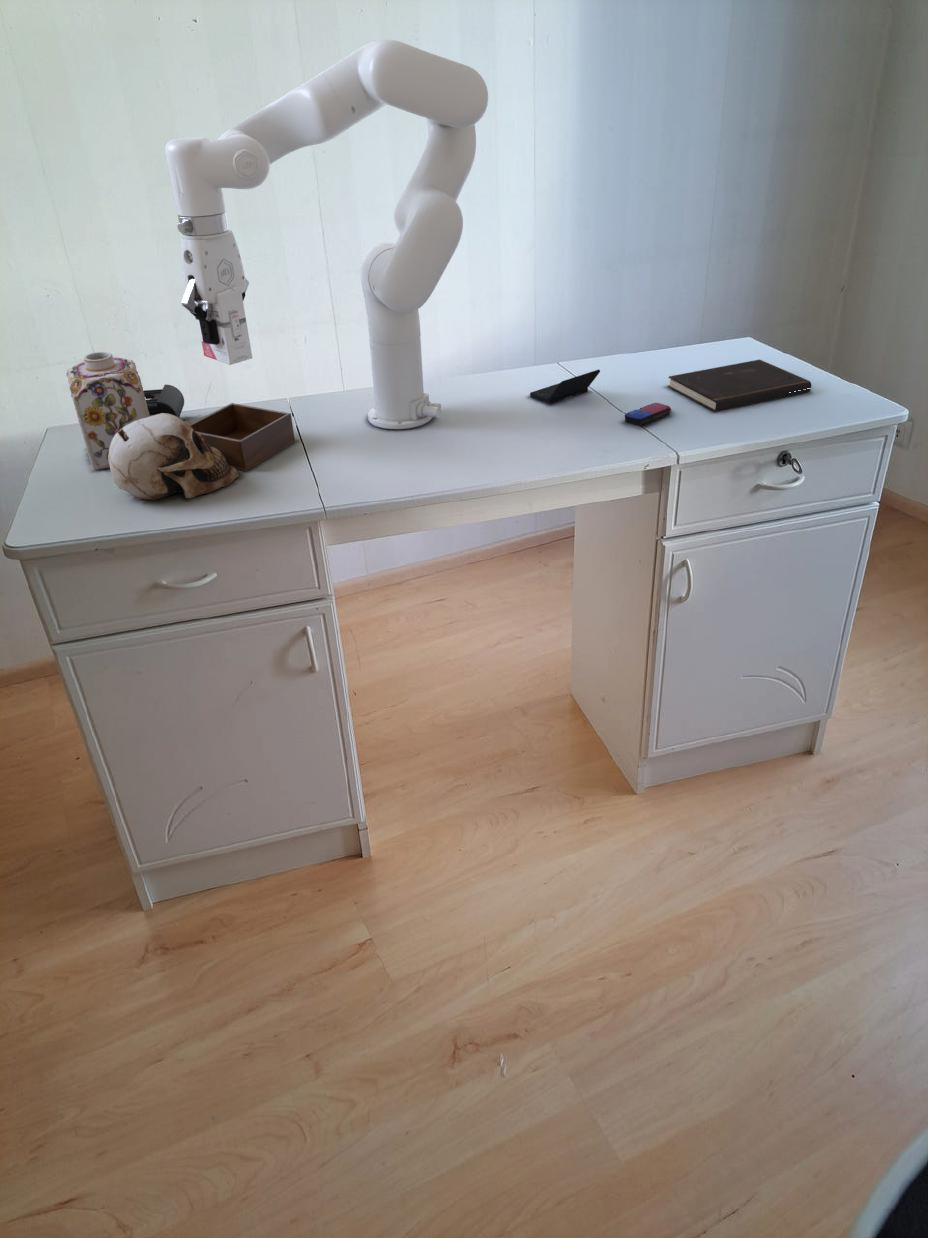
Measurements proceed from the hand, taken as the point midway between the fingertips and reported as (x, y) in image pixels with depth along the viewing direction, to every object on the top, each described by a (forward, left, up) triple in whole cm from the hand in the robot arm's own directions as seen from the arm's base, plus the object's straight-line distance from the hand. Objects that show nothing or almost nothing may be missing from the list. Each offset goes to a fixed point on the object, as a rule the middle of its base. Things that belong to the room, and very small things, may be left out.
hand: (224, 336), depth 150 cm
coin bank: (-2, +19, -20) cm, 28 cm away
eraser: (-65, -40, -20) cm, 79 cm away
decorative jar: (+17, +13, -20) cm, 29 cm away
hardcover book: (-77, -62, -20) cm, 101 cm away
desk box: (-2, +3, -19) cm, 20 cm away
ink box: (0, 0, -4) cm, 4 cm away
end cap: (+19, 0, -20) cm, 27 cm away
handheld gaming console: (-46, -45, -20) cm, 67 cm away
